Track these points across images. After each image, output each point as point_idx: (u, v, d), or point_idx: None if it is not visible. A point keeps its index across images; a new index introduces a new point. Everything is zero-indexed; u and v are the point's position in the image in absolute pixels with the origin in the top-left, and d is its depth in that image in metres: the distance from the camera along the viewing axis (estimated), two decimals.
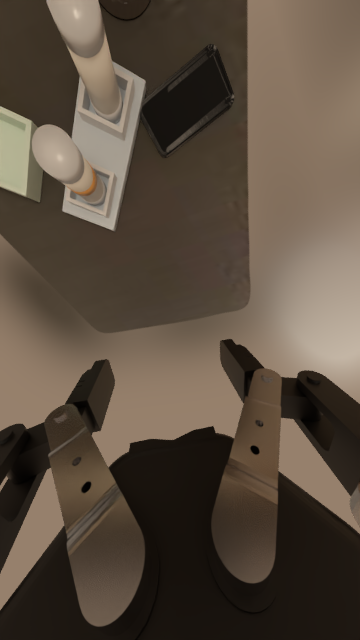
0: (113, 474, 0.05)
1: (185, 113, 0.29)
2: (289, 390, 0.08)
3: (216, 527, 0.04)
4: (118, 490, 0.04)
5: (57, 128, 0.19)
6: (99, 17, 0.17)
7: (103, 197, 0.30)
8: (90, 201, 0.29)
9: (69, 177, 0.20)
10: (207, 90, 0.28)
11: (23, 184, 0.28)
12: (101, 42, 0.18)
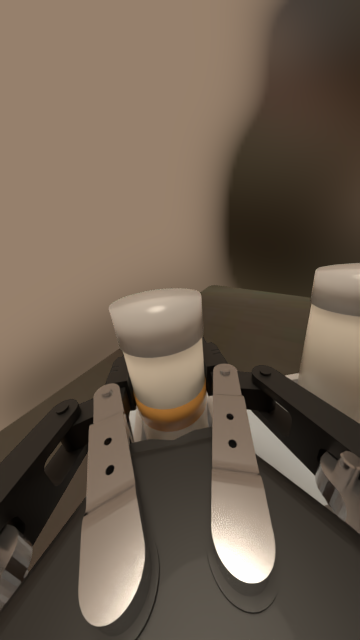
0: (136, 465, 0.05)
1: None
2: (244, 383, 0.09)
3: (216, 527, 0.04)
4: (134, 488, 0.04)
5: (196, 292, 0.09)
6: None
7: None
8: None
9: (118, 323, 0.07)
10: None
11: None
12: None
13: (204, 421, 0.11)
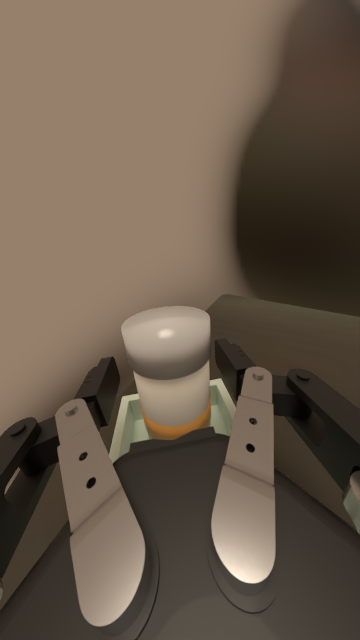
0: (118, 472, 0.05)
1: None
2: (279, 388, 0.08)
3: (216, 527, 0.04)
4: (121, 489, 0.04)
5: (205, 314, 0.09)
6: None
7: None
8: None
9: (131, 347, 0.08)
10: None
11: None
12: None
13: None
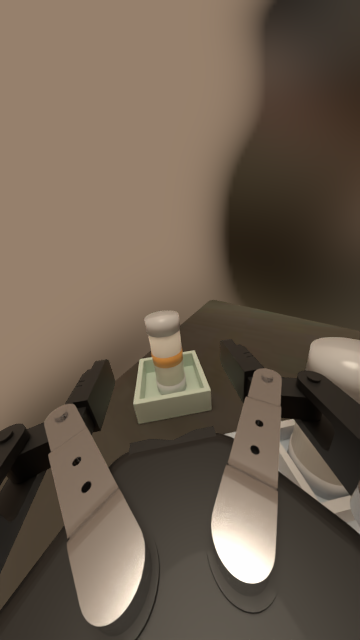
0: (113, 474, 0.05)
1: None
2: (289, 390, 0.08)
3: (216, 527, 0.04)
4: (118, 490, 0.04)
5: (177, 313, 0.23)
6: None
7: (168, 389, 0.25)
8: (156, 379, 0.26)
9: (149, 325, 0.22)
10: None
11: (145, 399, 0.22)
12: None
13: (181, 367, 0.25)
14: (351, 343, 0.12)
